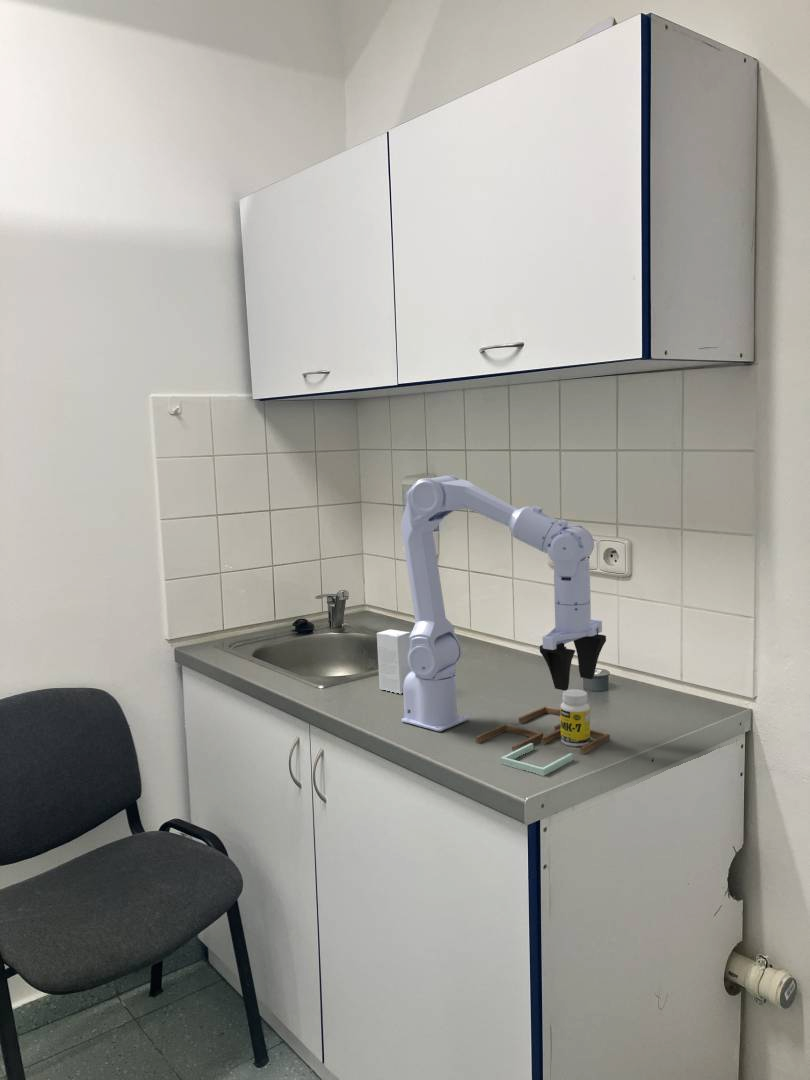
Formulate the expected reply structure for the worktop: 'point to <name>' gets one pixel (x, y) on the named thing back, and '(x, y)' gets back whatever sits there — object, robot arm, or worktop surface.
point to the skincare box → (393, 659)
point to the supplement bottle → (575, 718)
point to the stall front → (601, 739)
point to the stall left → (540, 712)
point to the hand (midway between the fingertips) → (574, 683)
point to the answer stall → (543, 771)
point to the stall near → (533, 734)
